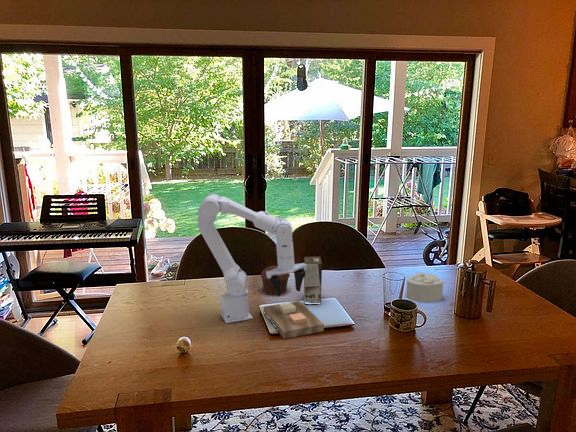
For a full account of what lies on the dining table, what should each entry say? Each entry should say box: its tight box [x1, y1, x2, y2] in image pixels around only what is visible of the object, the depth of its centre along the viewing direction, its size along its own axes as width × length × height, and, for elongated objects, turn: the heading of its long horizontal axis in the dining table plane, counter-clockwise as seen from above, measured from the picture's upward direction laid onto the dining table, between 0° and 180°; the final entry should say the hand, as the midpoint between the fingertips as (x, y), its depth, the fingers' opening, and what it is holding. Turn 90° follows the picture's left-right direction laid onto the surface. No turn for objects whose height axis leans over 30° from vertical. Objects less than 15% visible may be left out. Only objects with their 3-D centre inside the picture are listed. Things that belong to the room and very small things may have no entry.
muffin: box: [260, 265, 291, 296], centre depth 179 cm, size 12×11×10 cm
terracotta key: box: [289, 313, 306, 325], centre depth 149 cm, size 4×4×2 cm
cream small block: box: [279, 302, 296, 314], centre depth 157 cm, size 4×4×2 cm
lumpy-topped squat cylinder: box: [405, 271, 444, 303], centre depth 173 cm, size 10×13×9 cm
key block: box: [263, 300, 325, 340], centre depth 153 cm, size 14×20×2 cm
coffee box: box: [303, 256, 323, 304], centre depth 170 cm, size 9×6×16 cm
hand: (288, 292), depth 156 cm, fingers open, 7 cm apart
